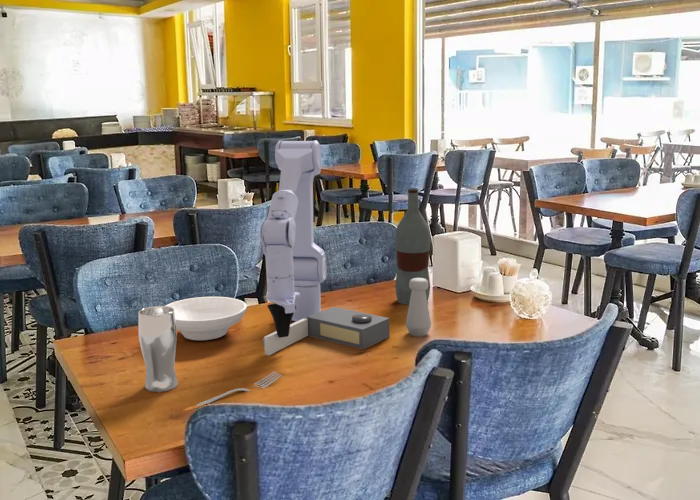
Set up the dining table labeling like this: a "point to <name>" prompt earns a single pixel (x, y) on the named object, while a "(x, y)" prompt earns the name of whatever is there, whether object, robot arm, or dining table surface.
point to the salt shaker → (418, 308)
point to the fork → (243, 388)
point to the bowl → (207, 316)
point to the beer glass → (158, 347)
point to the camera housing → (348, 327)
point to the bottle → (411, 249)
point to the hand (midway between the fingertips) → (283, 336)
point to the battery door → (295, 334)
